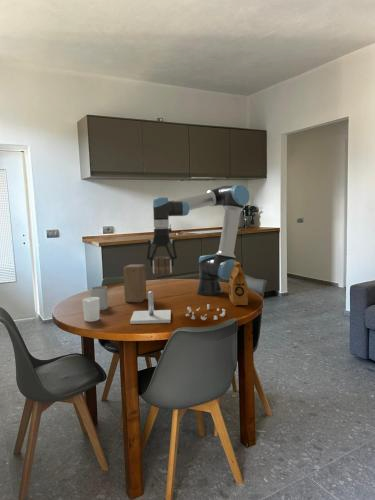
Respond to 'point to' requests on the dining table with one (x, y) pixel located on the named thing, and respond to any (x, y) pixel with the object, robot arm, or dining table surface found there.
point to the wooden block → (135, 283)
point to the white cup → (91, 308)
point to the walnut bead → (162, 265)
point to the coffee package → (238, 286)
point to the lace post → (150, 303)
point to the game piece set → (206, 314)
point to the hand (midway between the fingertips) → (162, 272)
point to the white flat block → (151, 317)
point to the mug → (100, 296)
